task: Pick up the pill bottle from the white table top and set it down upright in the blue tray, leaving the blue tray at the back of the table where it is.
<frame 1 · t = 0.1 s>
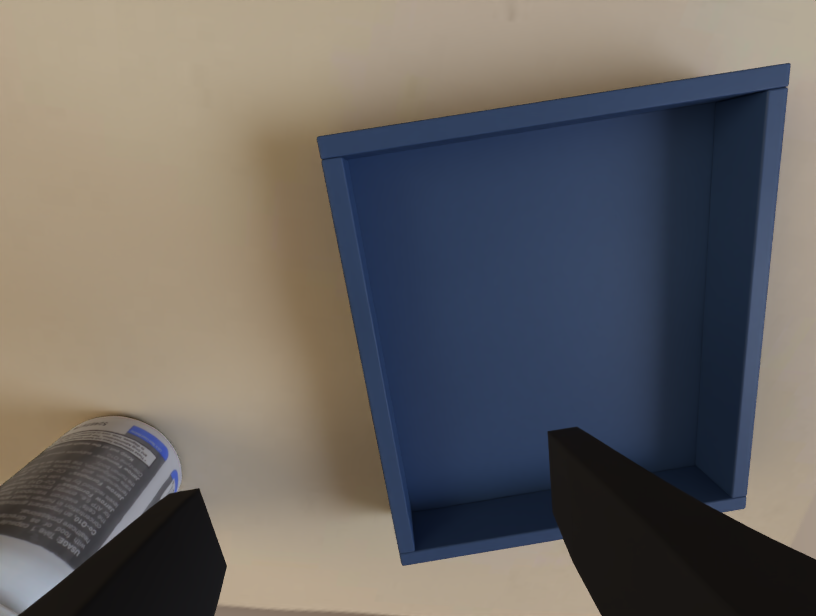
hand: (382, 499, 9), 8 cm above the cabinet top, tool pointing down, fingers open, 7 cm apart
blue tray: (538, 327, 16), on the cabinet top
pill bottle: (127, 461, 17), on the cabinet top
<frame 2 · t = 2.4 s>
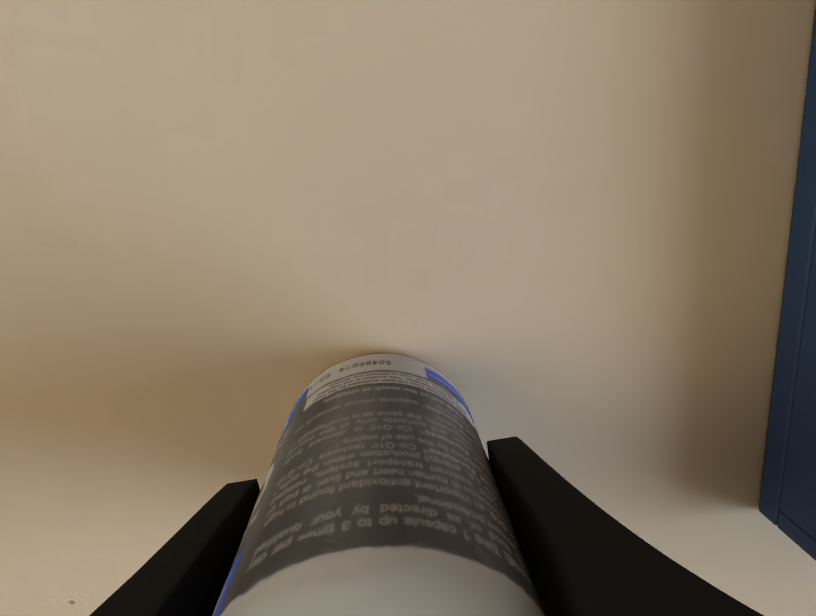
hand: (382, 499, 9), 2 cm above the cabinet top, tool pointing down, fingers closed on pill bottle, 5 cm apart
pill bottle: (381, 429, 11), on the cabinet top, touching gripper
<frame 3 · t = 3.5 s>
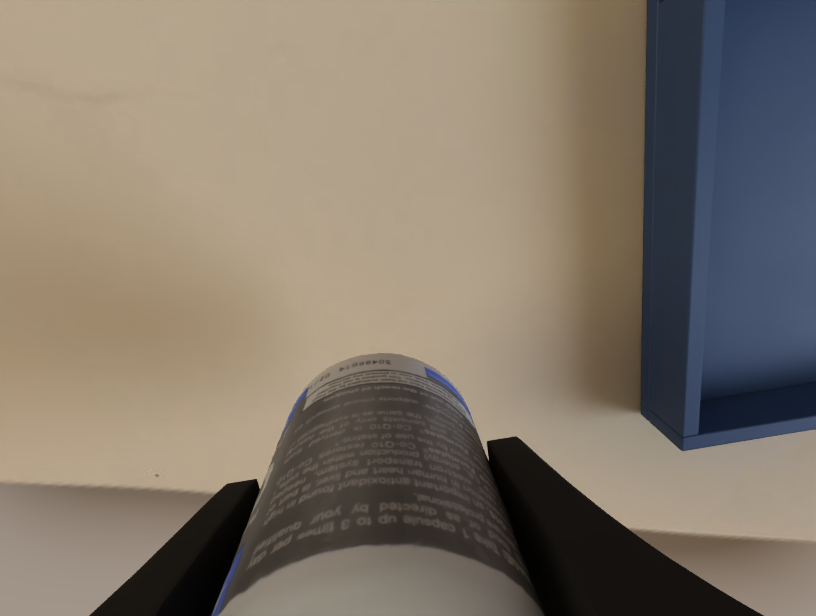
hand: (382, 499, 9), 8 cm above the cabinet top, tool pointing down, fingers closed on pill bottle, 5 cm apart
pill bottle: (380, 429, 11), point 5 cm above the cabinet top, touching gripper
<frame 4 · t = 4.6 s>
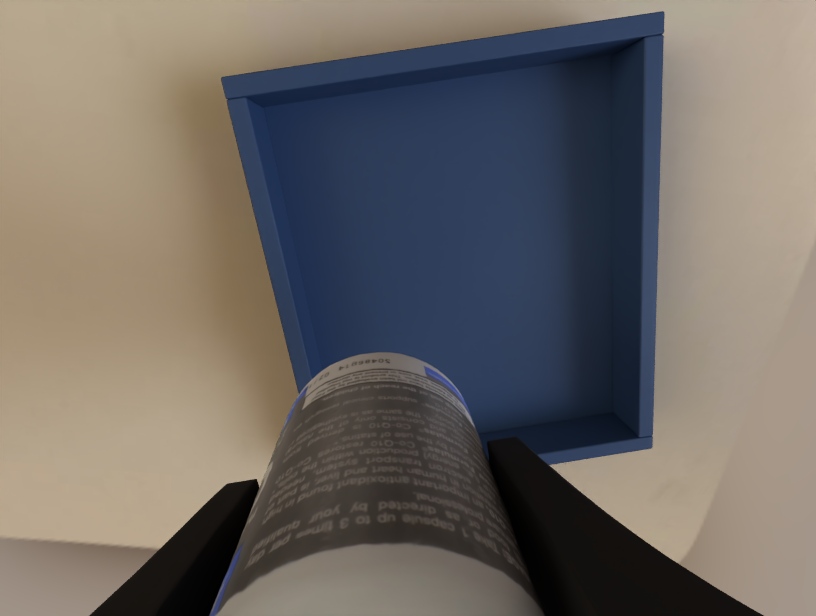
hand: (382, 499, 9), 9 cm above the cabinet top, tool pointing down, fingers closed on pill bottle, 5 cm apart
blue tray: (457, 275, 17), on the cabinet top
pill bottle: (380, 428, 11), point 7 cm above the cabinet top, touching gripper
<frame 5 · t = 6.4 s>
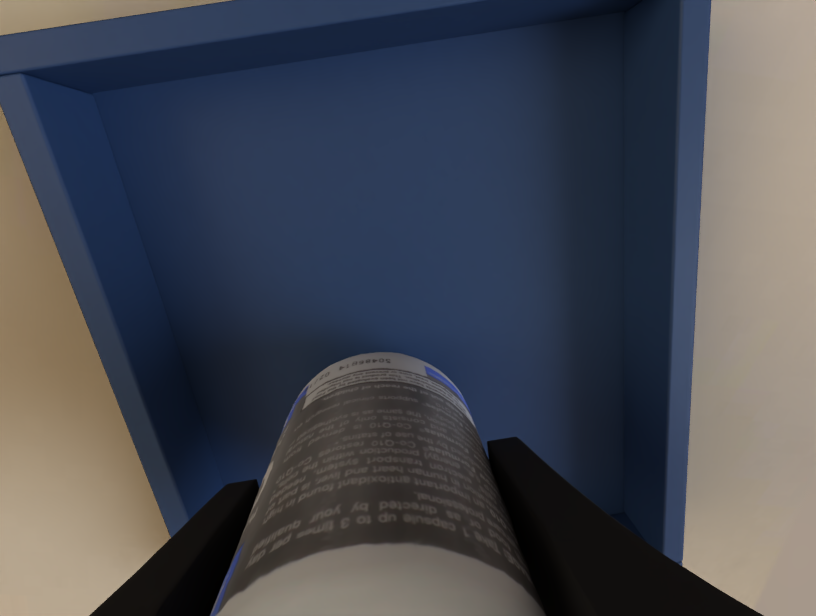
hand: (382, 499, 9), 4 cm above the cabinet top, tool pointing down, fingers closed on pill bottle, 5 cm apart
blue tray: (405, 332, 12), on the cabinet top
pill bottle: (380, 428, 11), point 2 cm above the cabinet top, touching gripper
when the fingers open (3 cm above the cabinet top, at t = 7.2 s): pill bottle stays where it is, resting on blue tray.
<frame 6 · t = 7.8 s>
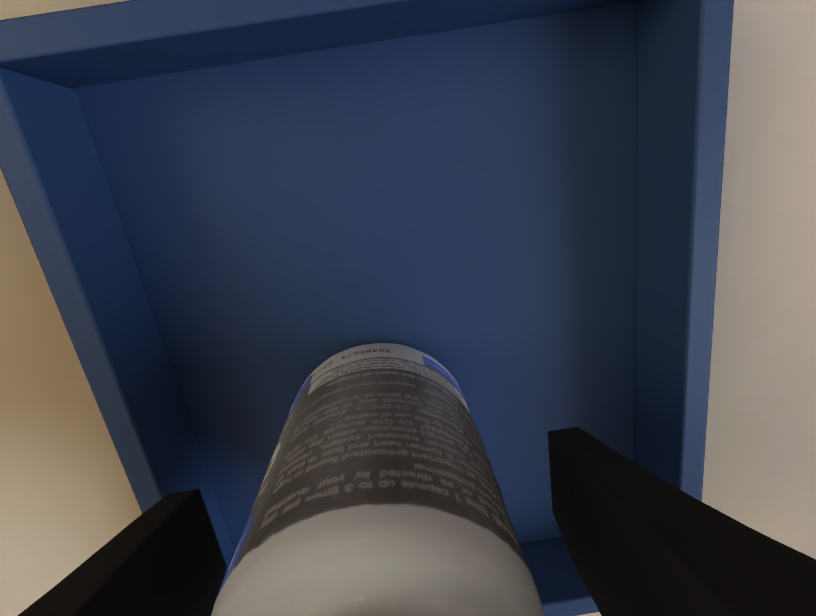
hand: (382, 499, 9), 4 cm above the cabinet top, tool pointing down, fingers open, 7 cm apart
blue tray: (406, 339, 12), on the cabinet top
pill bottle: (380, 416, 12), resting on blue tray
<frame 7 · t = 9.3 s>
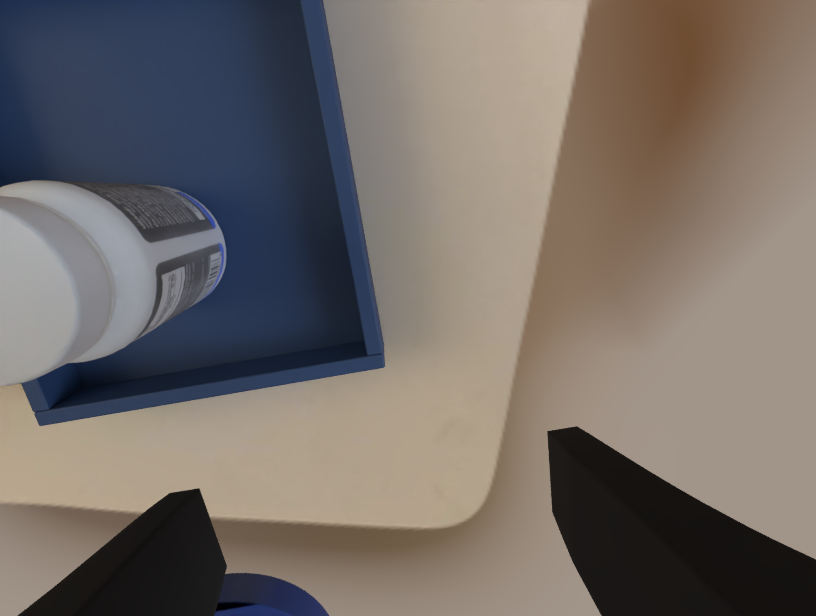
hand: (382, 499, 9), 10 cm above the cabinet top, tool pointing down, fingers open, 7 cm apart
blue tray: (186, 193, 17), on the cabinet top
pill bottle: (169, 248, 17), resting on blue tray
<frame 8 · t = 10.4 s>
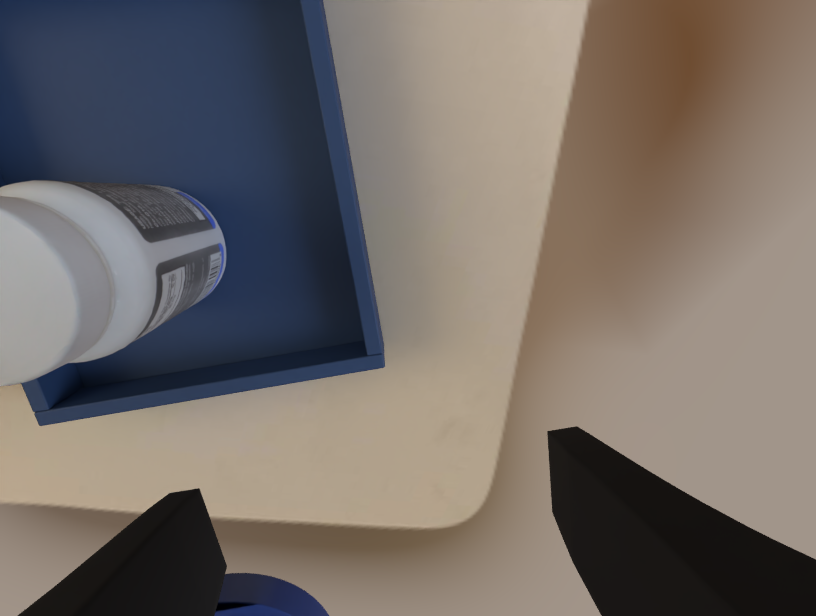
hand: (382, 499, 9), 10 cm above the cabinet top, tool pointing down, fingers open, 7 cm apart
blue tray: (186, 193, 17), on the cabinet top
pill bottle: (169, 248, 17), resting on blue tray
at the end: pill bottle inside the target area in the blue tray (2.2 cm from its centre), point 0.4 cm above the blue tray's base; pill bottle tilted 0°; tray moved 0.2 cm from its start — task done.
